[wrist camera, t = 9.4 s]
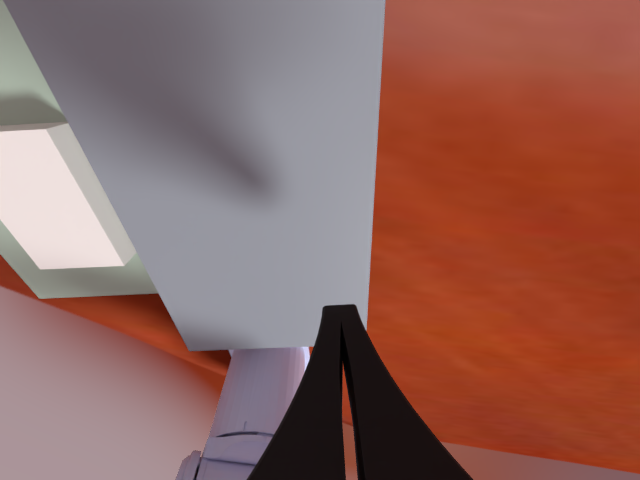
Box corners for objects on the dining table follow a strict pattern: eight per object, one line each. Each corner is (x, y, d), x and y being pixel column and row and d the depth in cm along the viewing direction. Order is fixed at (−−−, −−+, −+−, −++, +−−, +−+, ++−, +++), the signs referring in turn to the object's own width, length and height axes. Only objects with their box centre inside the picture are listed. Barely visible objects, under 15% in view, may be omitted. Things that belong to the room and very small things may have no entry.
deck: (359, 305, 25) (365, 344, 21) (206, 312, 25) (189, 351, 22) (372, -95, 11) (394, -156, 8) (47, -68, 12) (-59, -116, 9)
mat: (190, 288, 24) (188, 291, 23) (43, 295, 24) (39, 298, 24) (49, -35, 12) (42, -37, 12) (-222, -13, 13) (-237, -15, 12)
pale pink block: (40, 269, 19) (62, 252, 21) (124, 265, 19) (139, 249, 21) (-68, 135, 14) (-27, 127, 16) (45, 128, 14) (74, 121, 16)
